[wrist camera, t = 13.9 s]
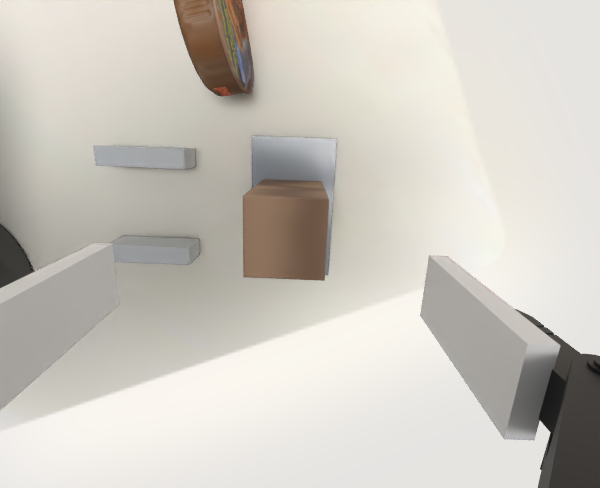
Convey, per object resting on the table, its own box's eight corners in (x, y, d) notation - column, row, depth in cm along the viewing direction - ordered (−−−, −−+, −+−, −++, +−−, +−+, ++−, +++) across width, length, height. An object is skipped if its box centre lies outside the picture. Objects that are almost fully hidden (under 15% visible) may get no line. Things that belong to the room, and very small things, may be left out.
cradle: (125, 251, 33) (107, 261, 30) (113, 145, 30) (93, 145, 27) (199, 254, 33) (189, 264, 30) (195, 148, 30) (183, 149, 27)
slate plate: (253, 268, 33) (252, 271, 32) (253, 135, 30) (252, 135, 29) (327, 271, 33) (328, 275, 32) (336, 139, 30) (336, 138, 29)
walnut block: (263, 235, 31) (243, 277, 22) (263, 179, 30) (243, 196, 20) (318, 238, 31) (324, 280, 22) (321, 181, 30) (329, 199, 20)
